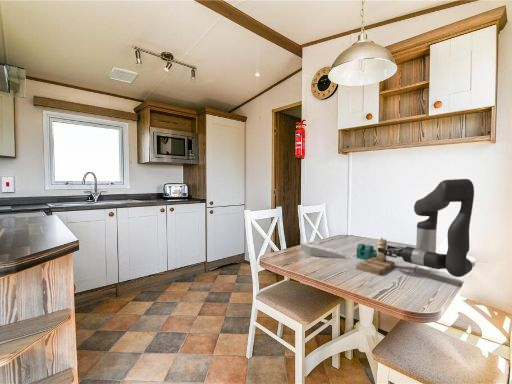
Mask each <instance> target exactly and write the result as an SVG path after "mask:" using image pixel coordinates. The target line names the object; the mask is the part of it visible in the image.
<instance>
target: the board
mask: <svg viewBox="0 0 512 384" xmlns="http://www.w3.org/2000/svg"><path fill="white" fill-rule="evenodd" d="M393 267H395V261H394V260H393V261H392V260H387V259H386V262H380V261H377V257H376V258H375V257H372V258H370V259H368V260H364V261H361V262H360V263H358V264H356V265H355V269H356V270H358V271H362V272H366V273H369V274H373V275H377V276H380V275H382V274H384V273H386V272H387V271H388V270H390V269H392V268H393Z"/></svg>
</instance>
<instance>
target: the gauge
mask: <svg viewBox="0 0 512 384" xmlns="http://www.w3.org/2000/svg"><path fill="white" fill-rule="evenodd" d="M387 241H388V240H387V239H386V238H385V239H384V238H383V237H381V238H377V240H376V250H377V257H376V258H377V261H380V262H386V260H387V256H385V255H384V253H380V252H378V248H383V249H387V246H388V245H387Z"/></svg>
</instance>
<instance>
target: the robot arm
mask: <svg viewBox="0 0 512 384" xmlns="http://www.w3.org/2000/svg"><path fill="white" fill-rule="evenodd" d="M474 199H475V185H474V183H473V181H472V180H471V179H468V178H457V179H456V178H455V179H453V178H452V179H444V180H442V181H440V182H439V183H438V184H437V186H436V187H435V188H434V189H433V190H432V191H430V193H427V195H426V196H424V197H423V198H421V199H418V200H416V202H415V203H414V206H413V212H414V213H415V215H417V216H419V217H428V218H426V219H425V220H422V221H418V222H417V224H416V240H415V241H416V245H415V247H414V246H413V247H412V246H407V245H406V246H405V247H404V246H398V245H397V246H393V245H389V244H388V245H386V249H383V248H378V252H380V253H384V255H385V256H386V257H390V258H394V259H397V258H402V260H403V262H404V263H408V264H413V265H417V266H420V267H426V268H430V269H434V270H443V269H444V270H446V271H447V272H448V273H449V275H451V276H453V277H456V278H461V277H464V276H467V274H469V273H470V272H472V270H473V267H474V266H473V263H472V261H471V260H470V259H469V258H467V256H468V253H469V252H470V247H471V246H470V228H471V227H470V225H471V219H472V218H471V217H472V214H473V213H472V212H473V205H474ZM455 202H456V203H457V202H458V203H461V204H460V209H459V211H458V214H457V215H456V217H455V218H454V220H453V221H451V223H450V224H449V227H448V228H447V229H448V230H447V251H446V253H438V252H437V226H438V216H439V211H442V210H444V209H445V208H447V207H448V206H449V205H450V203H455Z"/></svg>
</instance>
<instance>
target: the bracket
mask: <svg viewBox="0 0 512 384" xmlns="http://www.w3.org/2000/svg"><path fill="white" fill-rule="evenodd" d="M374 247H375V246H373V245H369V244H364V243H358V244H357V246H356V258H357V259H360V260H364V261H366V260H368V259H370V258H372V257H375V258H377V249H374Z"/></svg>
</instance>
